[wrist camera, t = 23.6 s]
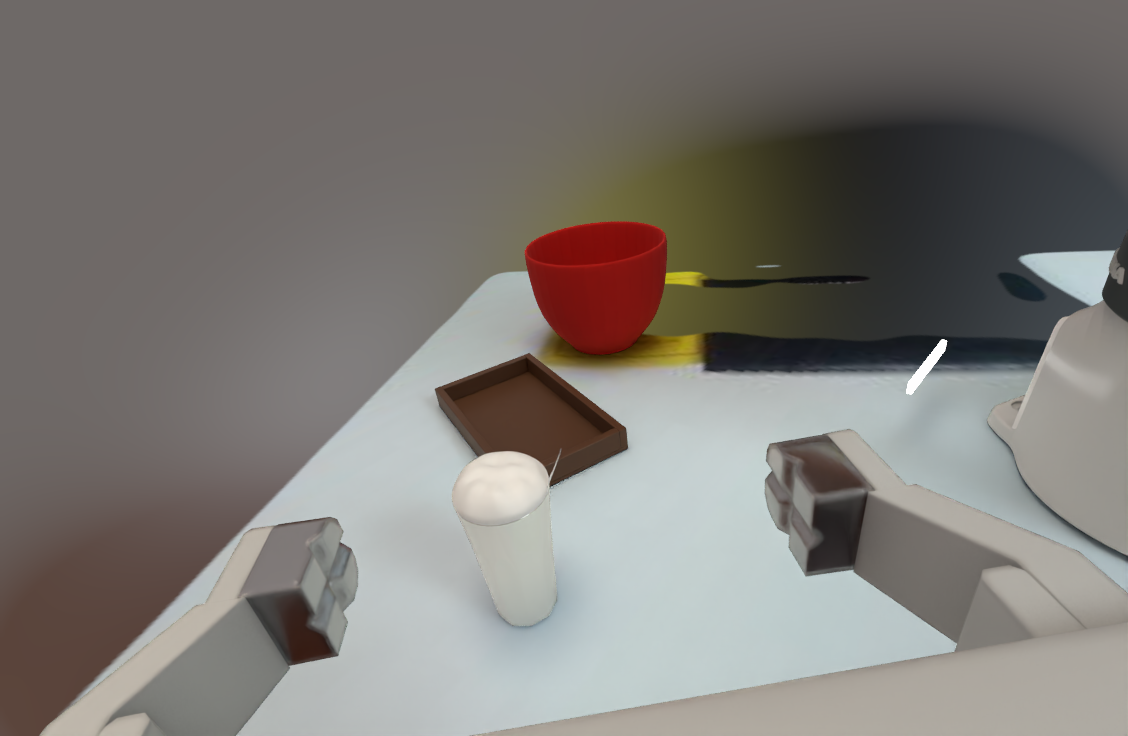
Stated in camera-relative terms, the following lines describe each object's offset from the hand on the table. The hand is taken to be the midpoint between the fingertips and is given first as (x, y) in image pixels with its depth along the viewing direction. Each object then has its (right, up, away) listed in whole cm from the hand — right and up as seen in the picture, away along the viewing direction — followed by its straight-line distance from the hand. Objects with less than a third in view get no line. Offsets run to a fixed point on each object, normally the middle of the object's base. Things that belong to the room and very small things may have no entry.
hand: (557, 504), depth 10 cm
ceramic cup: (+4, +6, +47) cm, 47 cm away
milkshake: (-1, -10, +19) cm, 22 cm away
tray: (-3, -2, +33) cm, 34 cm away
